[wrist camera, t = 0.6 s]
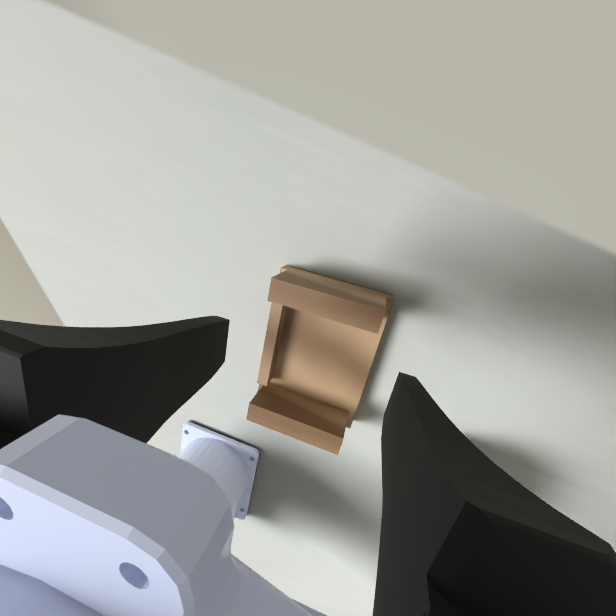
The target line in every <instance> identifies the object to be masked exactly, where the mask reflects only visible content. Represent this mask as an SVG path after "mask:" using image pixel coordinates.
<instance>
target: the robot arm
mask: <svg viewBox="0 0 616 616" xmlns="http://www.w3.org/2000/svg"><path fill="white" fill-rule="evenodd" d="M228 329H229V320H228V319H225V318H222V317H218V316H207V317H199V318H193V319H186V320H180V321H174V322H167V323H159V324H152V325H143V326H131V327H111V328H109V327H62V326H49V325H48V326H47V325H37V324H28V323H21V322H12V321H4V320H0V616H327V615H325V614H323V613H320V612H318V611H316V610H314V609H312V608H310V607H308V606H306V605H304V604H302V603H299V602H297V601H295V600H293V599H291V598H289V597H288V596H286V595H285V594H284V593H282V592H281V591H280V590H279V589H277V588H276V587H275V586H273V585H272V584H271V583H269V582H268V581H267V580H265V579H264V578H263V577H261V576H260V575H259V574H257V573H256V572H255V571H253V570H252V569H251V568H249V567H248V566H247V565H245V564H244V563H243V562H241V561H240V560H239V559H238V558H236V557H235V556H234V555H232V554H231V542H232V536H233V530H234V523H233V520H234V518H235V517H236V518H238V519H241V520H244V519H245V517H246V515H247V511H248V506H249V501H250V496H251V491H252V486H253V482H254V477H255V472H256V467H257V462H258V457H259V451H258V450H257V449H256V448H253V447H251V446H248V445H246V444H243V443H241V442H238V441H236V440H233V439H231V438H228V437H226V436H223V435H221V434H218V433H216V432H213V431H211V430H208V429H206V428H203V427H201V426H199V425H196V424H194V423H191V422H185V423H184V424H183V429H182V441H181V453H180V454H179V455H178V456H175V455H172V454H170V453H167V452H165V451H163V450H160V449H158V448H155V447H153V446H151V445H148V444H146V443H147V442H148V441H149V440H150V439H151V437H152V436H153V435H154V434H155V433H156V432H157V431H158V429H159V428H160V427H161V426H162V425H163V424H164V423H165V422H166V421H167V420H168V419H169V418H170V417H171V416H172V415H173V414H174V413H175V412H176V411H177V410H178V409H179V408H180V407H181V406H182V405H183V404H184V403H185V402H187V401H188V400H189V399H190V398H191V397H192V396H193V395H194V394H195V393H196V392H197V391H198V390H200V389H201V388H202V387H203V386H204V385H205V384H206V383H207V382H208V381H209V380H210V379H211V378H212V377H213V376H214V374H215V373H216V372H217V371H218V369H219V368H220V367H221V366H222V364H223V363H224V362H225V354H226V346H227V337H228ZM381 450H382V487H383V507H382V521H381V535H380V546H379V558H378V569H377V579H376V589H375V599H374V608H373V616H616V553H615V551H614V550H613V548H612V547H611V545H610V544H609V543H607V542H606V541H604V540H603V539H601V538H600V537H598V536H596V535H595V534H593V533H592V532H590V531H589V530H587V529H585V528H584V527H582V526H581V525H579V524H578V523H576V522H574V521H573V520H571V519H570V518H568V517H567V516H565V515H563V514H562V513H560V512H559V511H557V510H556V509H554V508H553V507H551V506H550V505H549V504H547V503H546V502H544V501H543V500H542V499H540V498H539V497H537V496H536V495H535V494H533V493H532V492H530V491H529V490H528V489H526V488H525V487H524V486H522V485H521V484H520V483H518V482H517V481H516V480H514V479H513V478H512V477H511V476H509V475H508V474H507V473H506V472H504V471H503V470H502V469H501V468H500V467H498V466H497V465H496V464H495V463H493V462H492V461H491V460H490V459H489V458H488V457H487V456H485V455H484V454H483V453H482V452H481V451H480V450H479V449H478V448H477V447H476V446H475V445H474V444H473V443H472V442H470V441H469V440H468V439H467V438H466V437H465V436H464V435H463V434H462V433H461V431H460V430H459V429H458V428H457V427H456V426H455V425H454V424H453V423H452V422H451V420H450V419H449V418H448V417H447V416H446V415H445V414H444V412H443V411H442V410H441V409H440V407H439V406H438V405H437V404H436V402H435V401H434V400H433V399H432V397H431V396H430V395H429V393H428V392H427V391H426V389H425V388H424V387H423V386H422V384H421V383H420V382H419V380H418V379H417V378H416V377H414V376H410V375H407V374H404V373H401V372H399V374H398V377H397V380H396V383H395V385H394V388H393V391H392V394H391V396H390V399H389V402H388V405H387V408H386V410H385V413H384V418H383V426H382V436H381Z"/></svg>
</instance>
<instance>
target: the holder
mask: <svg viewBox="0 0 616 616" xmlns="http://www.w3.org/2000/svg"><path fill="white" fill-rule="evenodd" d="M393 300H394V295H390V294H387V293H383V292H379V291H376V290H372V289H369V288H365V287H361V286H358V285H354V284H351V283H347V282H343V281H340V280H336V279H333V278H329V277H325V276H322V275H318V274H315V273H311V272H307V271H304V270H300V269H297V268H293V267H289V266H286V265H285V266H283V267H281V270H280V274H278V275H276V276H274V277H272V278H271V284H270V290H269V295H268V301H270V302H272V304H271V310H270V315H269V321H268V326H267V332H266V337H265V343H264V348H263V354H262V359H261V364H260V370H259V375H258V381H257V383H258V384H259V388H258V392H257V394H256V395H255V396H254V398H253V399H252V401H251V402H250V403H249V408H248V414H247V420H249V421H251V422H254V423H257V424H259V425H262V426H264V427H267V428H270V429H272V430H275V431H277V432H280V433H283V434H285V435H288V436H290V437H293V438H296V439H298V440H301V441H303V442H306V443H308V444H311V445H314V446H316V447H319V448H321V449H324V450H327V451H329V452H332V453H334V454H337V455H338V453H339V450H340V447H341V444H342V441H343V437H344V432H345V428H346V427H347V428H350V427H351V424H352V421H353V419H354V416H355V413H356V410H357V407H358V404H359V401H360V398H361V395H362V392H363V389H364V386H365V383H366V380H367V377H368V374H369V371H370V368H371V365H372V362H373V359H374V356H375V353H376V350H377V348H378V345H379V342H380V339H381V336H382V333H383V330H384V327H385V324H386V321H387V318H388V315H389V312H390V309H391V306H392V303H393Z"/></svg>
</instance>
